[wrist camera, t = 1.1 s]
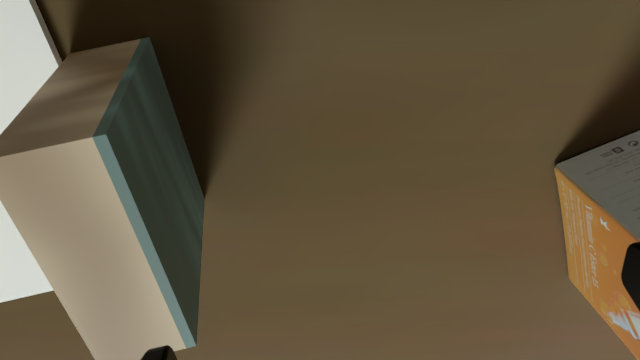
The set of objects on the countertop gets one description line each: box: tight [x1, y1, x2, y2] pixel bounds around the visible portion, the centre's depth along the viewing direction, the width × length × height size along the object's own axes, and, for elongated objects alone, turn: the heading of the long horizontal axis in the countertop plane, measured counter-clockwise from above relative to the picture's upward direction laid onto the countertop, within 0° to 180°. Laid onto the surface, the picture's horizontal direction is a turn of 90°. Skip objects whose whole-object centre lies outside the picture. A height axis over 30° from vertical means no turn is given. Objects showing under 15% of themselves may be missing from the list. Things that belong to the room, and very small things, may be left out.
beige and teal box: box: [0, 37, 204, 360], centre depth 16 cm, size 3×7×8 cm, turn 9°
